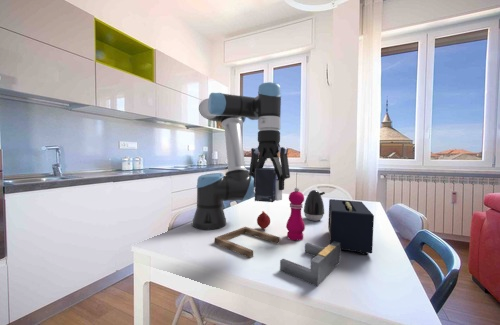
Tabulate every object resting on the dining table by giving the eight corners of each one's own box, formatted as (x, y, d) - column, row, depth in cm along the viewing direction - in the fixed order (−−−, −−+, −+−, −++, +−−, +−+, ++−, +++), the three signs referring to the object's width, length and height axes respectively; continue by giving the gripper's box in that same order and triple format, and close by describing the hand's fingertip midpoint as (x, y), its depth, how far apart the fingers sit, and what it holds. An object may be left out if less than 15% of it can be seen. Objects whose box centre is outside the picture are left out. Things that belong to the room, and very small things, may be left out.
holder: (214, 243, 80) (214, 237, 80) (245, 231, 93) (245, 226, 93) (250, 258, 69) (250, 252, 69) (279, 242, 82) (279, 237, 82)
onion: (271, 228, 98) (271, 210, 97) (268, 232, 92) (268, 213, 92) (258, 226, 99) (259, 208, 99) (255, 230, 94) (255, 212, 94)
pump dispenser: (327, 222, 107) (328, 192, 107) (306, 222, 107) (307, 191, 107) (320, 216, 117) (321, 188, 117) (301, 216, 117) (302, 188, 117)
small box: (274, 202, 68) (274, 169, 68) (254, 201, 70) (254, 168, 70) (280, 197, 78) (280, 168, 78) (263, 196, 80) (263, 168, 80)
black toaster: (328, 231, 95) (329, 197, 95) (360, 235, 91) (362, 199, 91) (330, 252, 75) (331, 208, 74) (372, 258, 71) (374, 212, 70)
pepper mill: (304, 242, 83) (306, 189, 82) (285, 240, 84) (287, 188, 83) (304, 235, 90) (305, 186, 89) (286, 233, 91) (287, 185, 90)
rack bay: (279, 270, 62) (280, 249, 61) (306, 251, 75) (307, 233, 74) (317, 286, 55) (318, 262, 54) (339, 262, 68) (340, 242, 67)
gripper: (239, 131, 78) (238, 195, 78) (290, 126, 64) (288, 204, 64) (252, 133, 83) (251, 193, 83) (302, 129, 69) (301, 201, 70)
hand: (267, 198), depth 74 cm, fingers closed on small box, 8 cm apart
